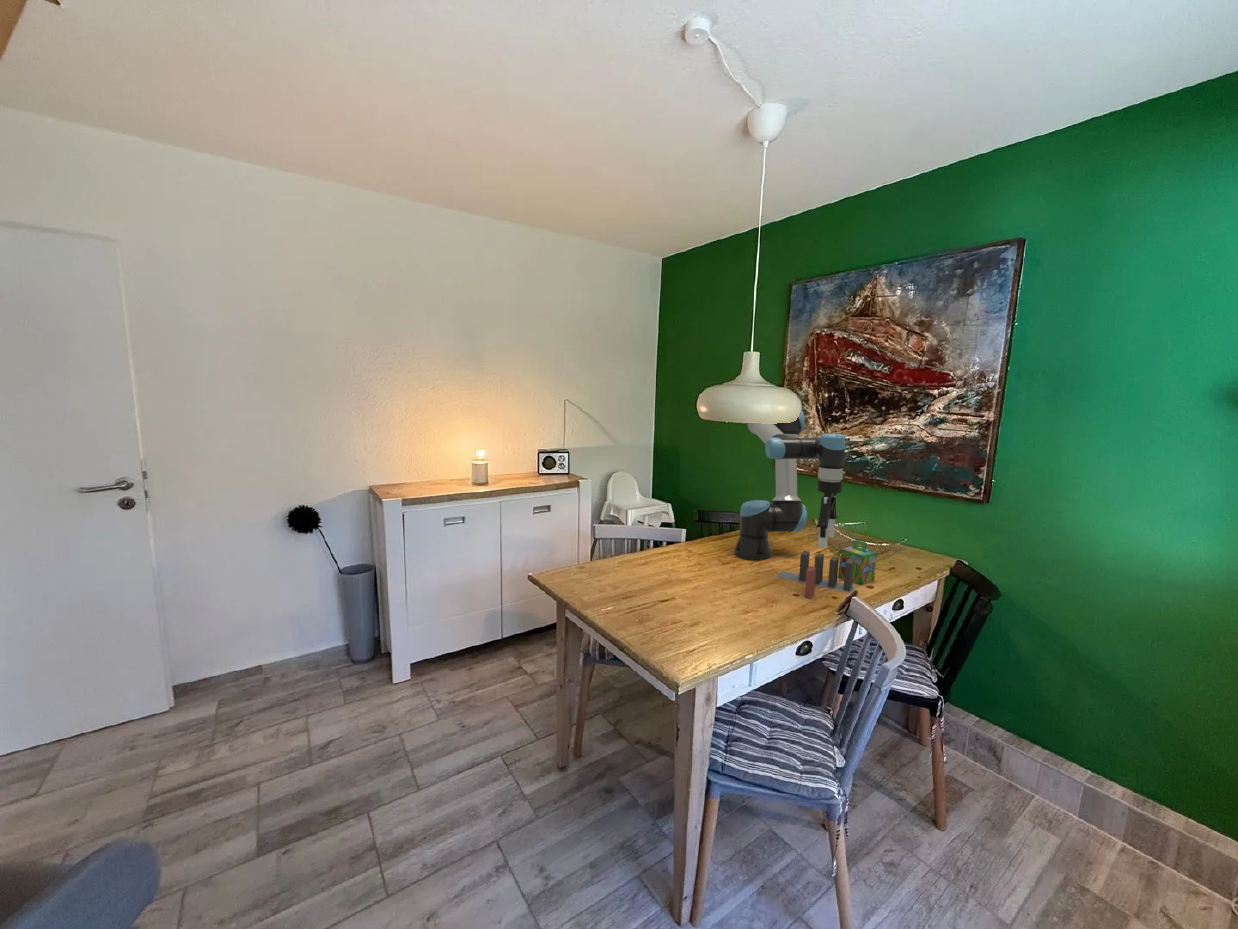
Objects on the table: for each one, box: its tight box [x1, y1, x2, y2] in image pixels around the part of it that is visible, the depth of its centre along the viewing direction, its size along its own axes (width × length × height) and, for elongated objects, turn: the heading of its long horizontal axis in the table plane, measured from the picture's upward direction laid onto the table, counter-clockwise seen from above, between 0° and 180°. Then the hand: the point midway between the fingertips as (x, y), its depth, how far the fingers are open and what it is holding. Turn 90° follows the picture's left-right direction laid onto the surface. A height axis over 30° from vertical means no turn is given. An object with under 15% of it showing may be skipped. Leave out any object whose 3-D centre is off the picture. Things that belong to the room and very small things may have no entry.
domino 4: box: [828, 555, 840, 588], centre depth 169 cm, size 2×5×10 cm, turn 145°
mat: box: [775, 570, 856, 594], centre depth 173 cm, size 26×8×1 cm, turn 55°
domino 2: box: [804, 565, 816, 600], centre depth 160 cm, size 2×5×10 cm, turn 145°
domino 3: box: [813, 553, 825, 585], centre depth 172 cm, size 2×5×10 cm, turn 145°
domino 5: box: [843, 559, 854, 591], centre depth 166 cm, size 2×5×10 cm, turn 145°
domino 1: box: [798, 550, 811, 582], centre depth 174 cm, size 2×5×10 cm, turn 145°
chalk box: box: [837, 539, 878, 586], centre depth 174 cm, size 9×9×15 cm
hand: (826, 541), depth 161 cm, fingers open, 13 cm apart
